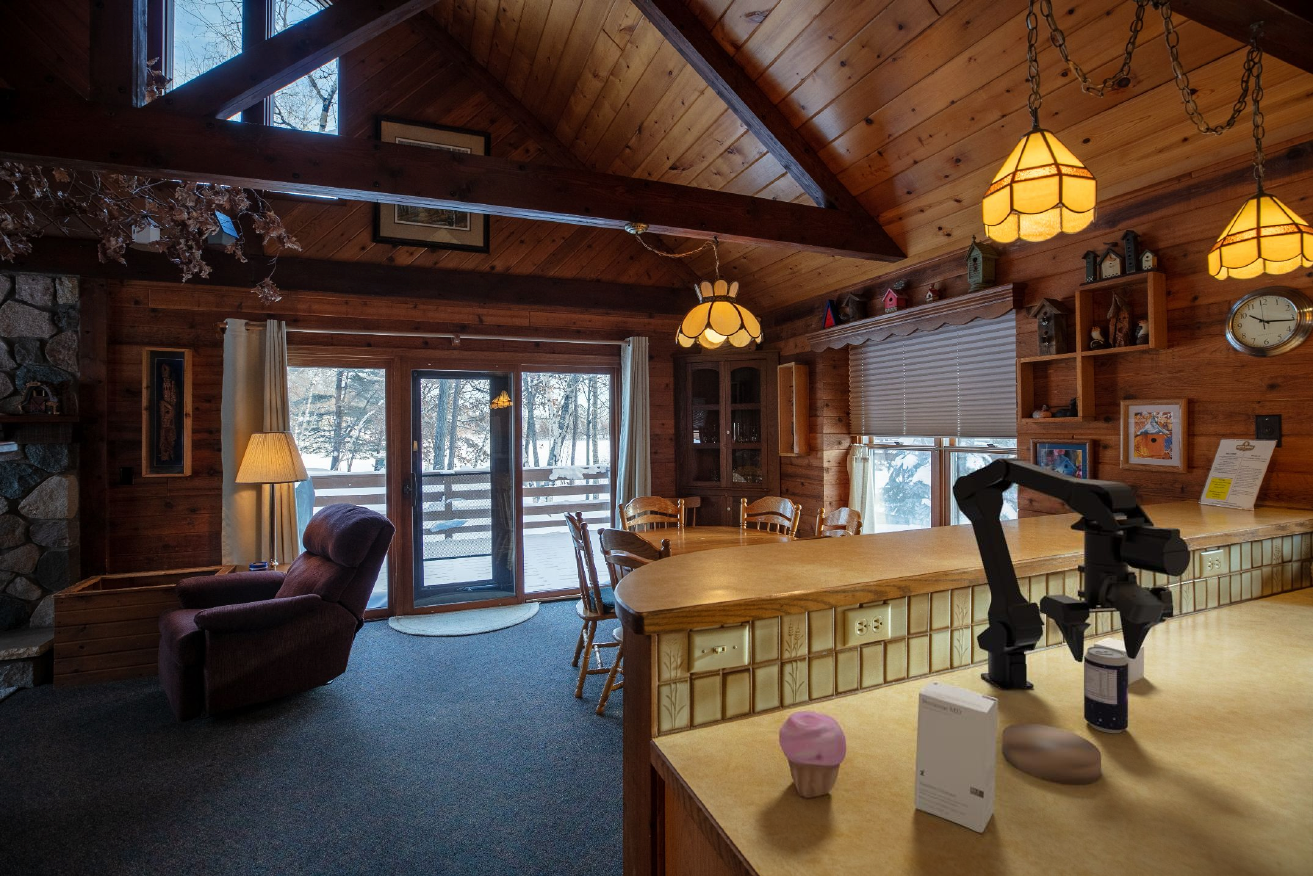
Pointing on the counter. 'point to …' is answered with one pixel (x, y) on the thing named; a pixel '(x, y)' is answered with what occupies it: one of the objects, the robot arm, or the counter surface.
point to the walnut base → (1051, 754)
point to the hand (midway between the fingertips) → (1105, 659)
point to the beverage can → (1106, 689)
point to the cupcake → (813, 751)
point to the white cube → (1133, 664)
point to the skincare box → (956, 754)
